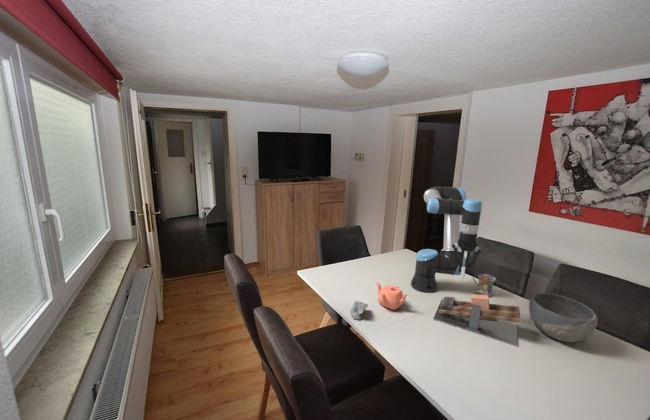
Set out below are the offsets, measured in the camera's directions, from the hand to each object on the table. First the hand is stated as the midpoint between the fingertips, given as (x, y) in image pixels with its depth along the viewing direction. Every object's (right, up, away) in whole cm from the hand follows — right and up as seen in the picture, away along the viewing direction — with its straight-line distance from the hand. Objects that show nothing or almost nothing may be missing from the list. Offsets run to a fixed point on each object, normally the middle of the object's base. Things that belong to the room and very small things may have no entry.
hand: (462, 278), depth 139 cm
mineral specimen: (-50, -19, +5) cm, 53 cm away
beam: (+7, -18, -1) cm, 20 cm away
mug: (+27, -16, +31) cm, 44 cm away
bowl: (+41, -25, -6) cm, 48 cm away
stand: (+6, -22, +1) cm, 23 cm away
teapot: (-33, -18, +13) cm, 40 cm away
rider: (+8, -15, -2) cm, 17 cm away
